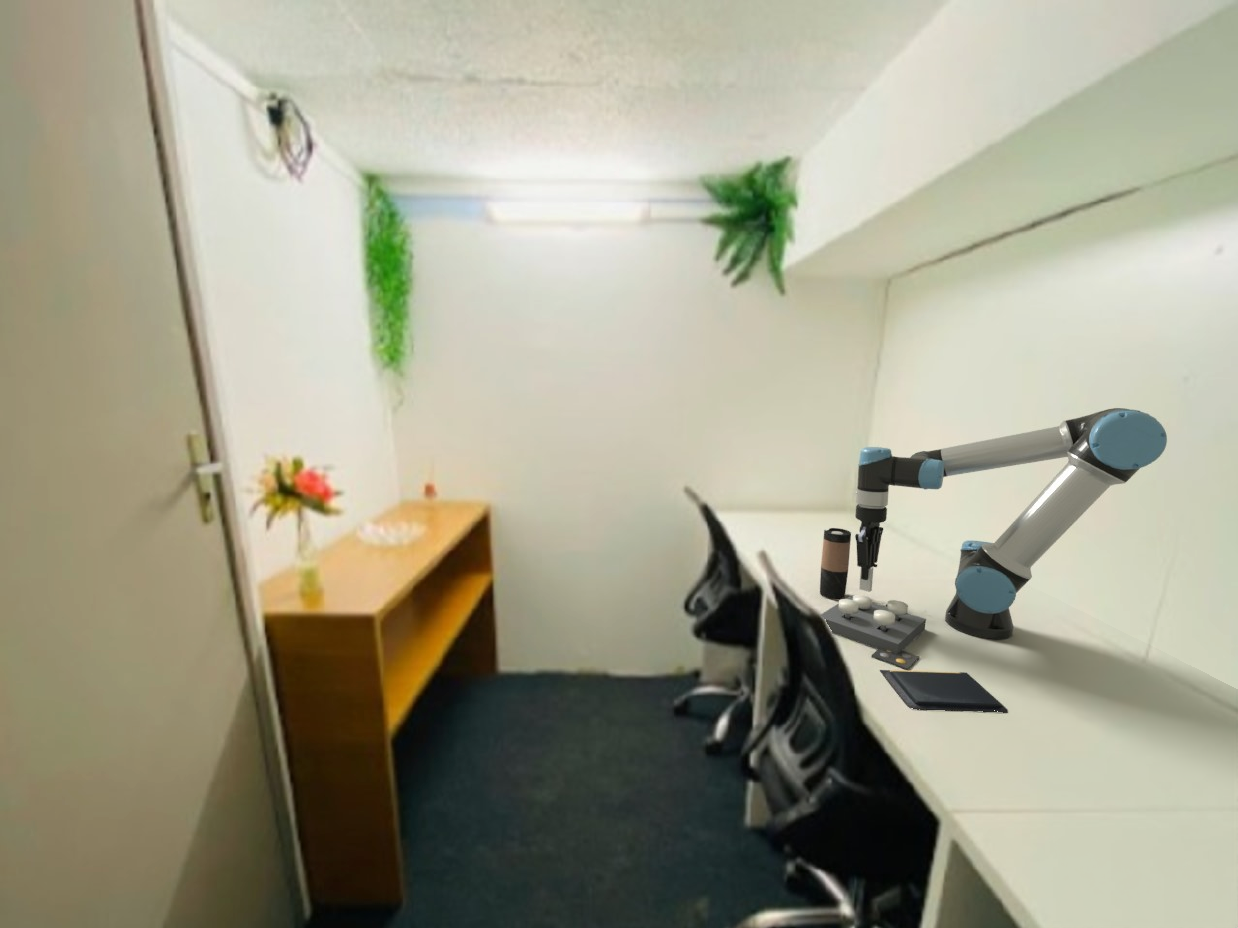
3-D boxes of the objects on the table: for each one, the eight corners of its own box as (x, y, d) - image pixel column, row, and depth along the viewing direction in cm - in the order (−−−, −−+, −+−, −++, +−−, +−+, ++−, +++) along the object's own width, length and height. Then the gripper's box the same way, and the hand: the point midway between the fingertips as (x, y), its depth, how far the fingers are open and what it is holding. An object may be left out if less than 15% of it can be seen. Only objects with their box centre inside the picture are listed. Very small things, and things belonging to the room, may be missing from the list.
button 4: (860, 620, 143) (861, 603, 142) (852, 625, 139) (854, 608, 138) (842, 614, 146) (843, 597, 145) (834, 619, 143) (835, 602, 142)
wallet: (909, 703, 108) (878, 663, 123) (908, 712, 108) (877, 671, 123) (1014, 709, 107) (969, 667, 122) (1012, 717, 107) (968, 675, 122)
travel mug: (848, 601, 160) (854, 535, 157) (820, 598, 162) (826, 534, 158) (843, 591, 167) (848, 528, 164) (817, 588, 169) (822, 526, 166)
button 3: (873, 615, 149) (875, 598, 148) (866, 620, 146) (867, 603, 145) (855, 609, 152) (857, 593, 152) (848, 614, 149) (850, 598, 148)
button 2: (896, 632, 136) (898, 614, 135) (889, 638, 133) (891, 619, 132) (876, 625, 140) (878, 608, 139) (869, 631, 136) (870, 613, 135)
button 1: (908, 621, 142) (910, 604, 141) (902, 627, 139) (904, 609, 138) (889, 615, 146) (891, 598, 145) (882, 620, 142) (884, 603, 142)
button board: (924, 629, 143) (926, 618, 142) (896, 655, 129) (898, 644, 128) (849, 605, 157) (850, 595, 156) (816, 626, 143) (817, 616, 143)
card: (919, 657, 128) (919, 655, 128) (907, 670, 123) (907, 667, 123) (884, 645, 134) (884, 643, 134) (871, 656, 128) (871, 654, 128)
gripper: (867, 499, 151) (861, 580, 155) (846, 507, 142) (841, 592, 146) (895, 503, 146) (889, 587, 149) (876, 511, 137) (869, 600, 140)
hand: (865, 589), depth 147 cm, fingers closed
